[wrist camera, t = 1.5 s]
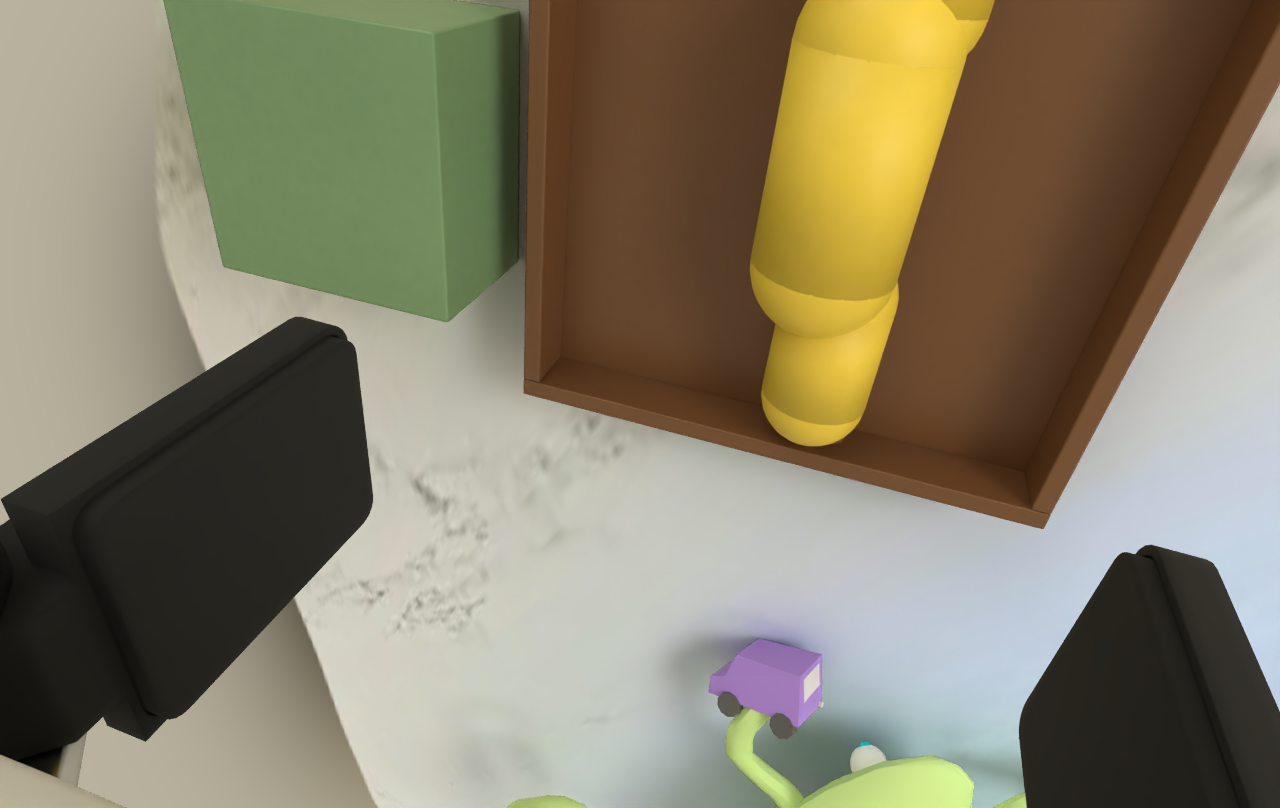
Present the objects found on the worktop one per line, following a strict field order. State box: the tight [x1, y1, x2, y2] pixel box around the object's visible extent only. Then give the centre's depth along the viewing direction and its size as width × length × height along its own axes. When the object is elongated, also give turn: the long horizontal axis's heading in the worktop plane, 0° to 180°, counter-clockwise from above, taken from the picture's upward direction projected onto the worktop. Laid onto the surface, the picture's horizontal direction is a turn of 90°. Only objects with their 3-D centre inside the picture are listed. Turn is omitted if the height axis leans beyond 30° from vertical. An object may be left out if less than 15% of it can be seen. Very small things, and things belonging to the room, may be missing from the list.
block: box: [163, 0, 520, 322], centre depth 24 cm, size 8×8×5 cm
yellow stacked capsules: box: [750, 0, 995, 446], centre depth 20 cm, size 17×4×4 cm, turn 175°
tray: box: [524, 0, 1280, 529], centre depth 21 cm, size 19×17×3 cm
